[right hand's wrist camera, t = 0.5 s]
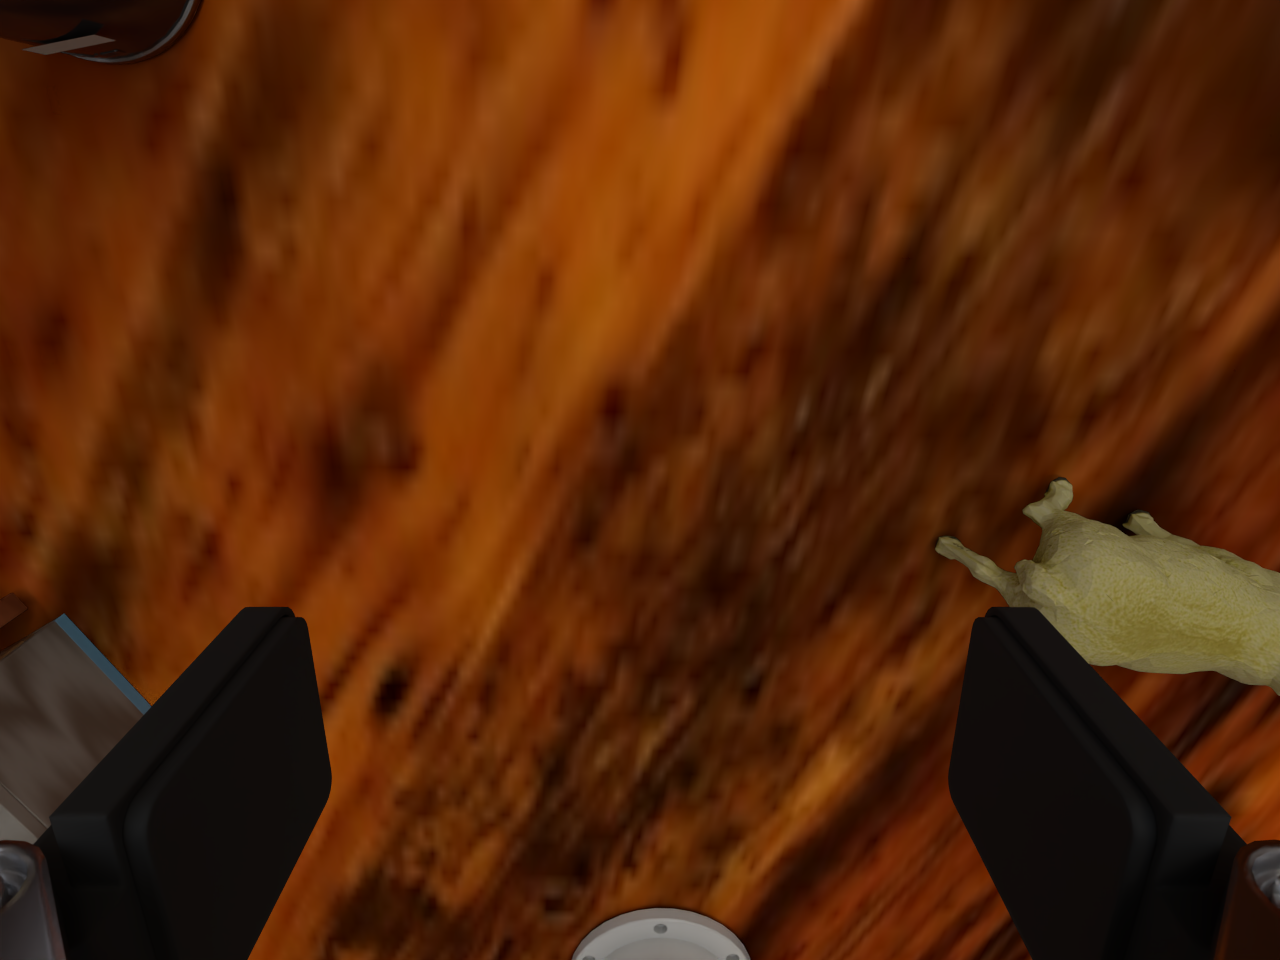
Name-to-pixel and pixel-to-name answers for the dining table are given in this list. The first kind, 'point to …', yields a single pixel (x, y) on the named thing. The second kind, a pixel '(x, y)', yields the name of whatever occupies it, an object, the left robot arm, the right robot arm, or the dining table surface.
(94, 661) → the cabinet
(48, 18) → the left robot arm
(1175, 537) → the toy
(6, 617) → the drawer
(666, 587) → the dining table surface
